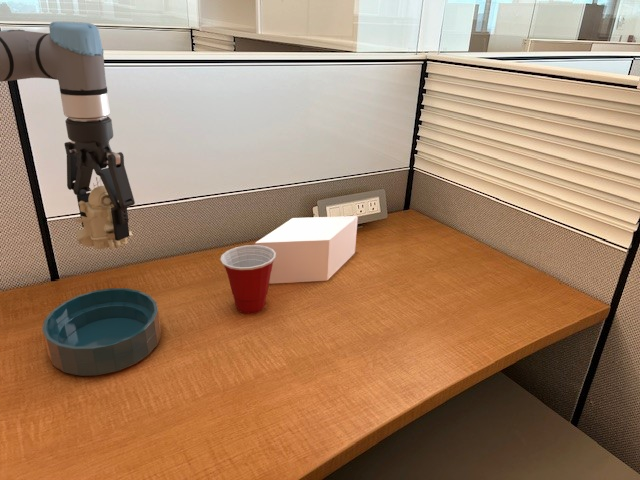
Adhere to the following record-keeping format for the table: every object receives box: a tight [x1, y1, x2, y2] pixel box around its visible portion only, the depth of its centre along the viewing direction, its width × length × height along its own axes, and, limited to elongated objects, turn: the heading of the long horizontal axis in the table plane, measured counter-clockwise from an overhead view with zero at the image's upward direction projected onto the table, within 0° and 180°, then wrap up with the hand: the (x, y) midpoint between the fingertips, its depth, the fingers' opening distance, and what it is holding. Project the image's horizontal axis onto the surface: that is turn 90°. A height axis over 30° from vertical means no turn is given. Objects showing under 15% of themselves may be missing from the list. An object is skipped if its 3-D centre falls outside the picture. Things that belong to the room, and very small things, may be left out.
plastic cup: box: [220, 244, 276, 315], centre depth 96 cm, size 11×11×12 cm
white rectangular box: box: [254, 215, 359, 285], centre depth 112 cm, size 14×29×10 cm, turn 127°
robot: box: [75, 177, 138, 251], centre depth 93 cm, size 10×8×15 cm
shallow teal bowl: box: [41, 287, 162, 377], centre depth 84 cm, size 18×18×6 cm
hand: (105, 231), depth 95 cm, fingers closed on robot, 9 cm apart
